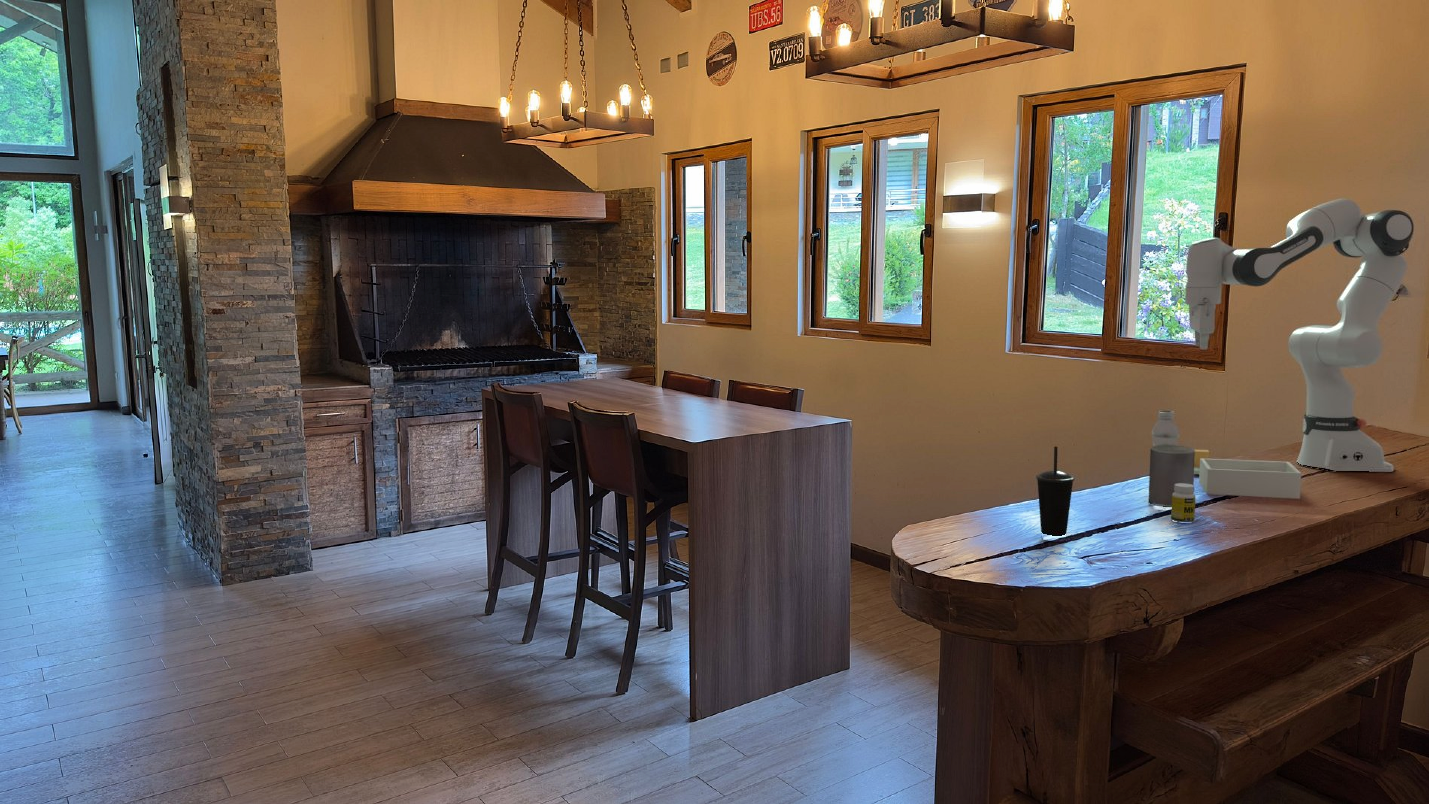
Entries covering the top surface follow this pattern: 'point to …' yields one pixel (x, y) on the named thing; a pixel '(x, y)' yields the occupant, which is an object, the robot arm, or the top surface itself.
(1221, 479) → the tub
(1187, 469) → the pillar candle
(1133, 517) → the top surface
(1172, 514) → the supplement bottle
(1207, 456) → the lid
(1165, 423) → the plastic bottle
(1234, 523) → the top surface
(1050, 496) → the drinking cup
